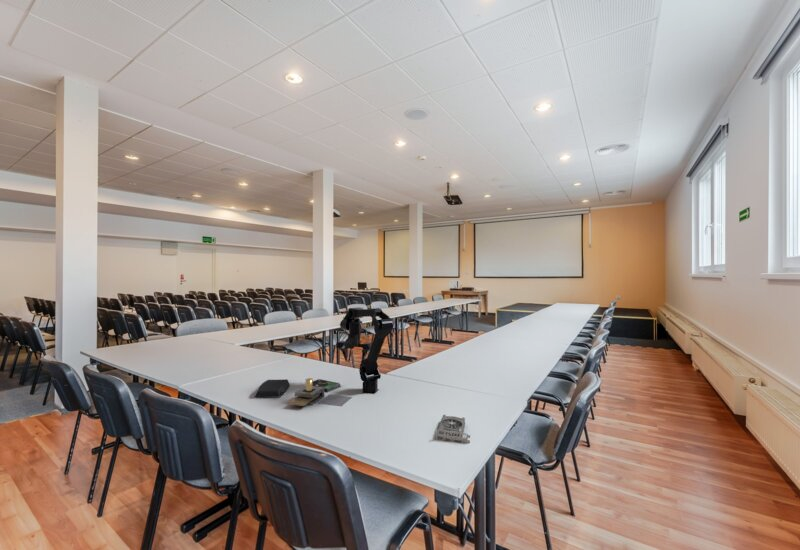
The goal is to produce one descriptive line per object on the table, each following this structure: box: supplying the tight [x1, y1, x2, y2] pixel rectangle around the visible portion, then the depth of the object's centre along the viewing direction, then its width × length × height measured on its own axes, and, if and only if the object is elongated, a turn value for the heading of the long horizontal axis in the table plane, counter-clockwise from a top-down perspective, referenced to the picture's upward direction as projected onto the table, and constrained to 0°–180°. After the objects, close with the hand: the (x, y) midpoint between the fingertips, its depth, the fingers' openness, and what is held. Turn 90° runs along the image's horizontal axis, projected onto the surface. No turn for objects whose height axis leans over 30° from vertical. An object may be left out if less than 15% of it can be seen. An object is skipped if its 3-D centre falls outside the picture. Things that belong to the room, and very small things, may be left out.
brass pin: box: [305, 377, 314, 392], centre depth 155 cm, size 3×3×10 cm
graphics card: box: [435, 414, 471, 444], centre depth 125 cm, size 17×4×12 cm
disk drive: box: [304, 378, 342, 393], centre depth 174 cm, size 10×3×15 cm
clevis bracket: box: [288, 385, 325, 407], centre depth 153 cm, size 16×9×5 cm, turn 164°
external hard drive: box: [253, 379, 291, 399], centre depth 168 cm, size 13×19×4 cm
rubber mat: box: [316, 394, 353, 407], centre depth 155 cm, size 12×12×1 cm
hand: (354, 361), depth 179 cm, fingers open, 9 cm apart
